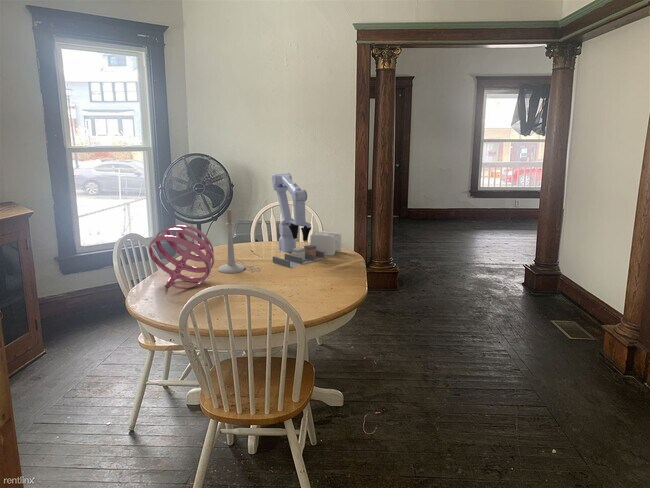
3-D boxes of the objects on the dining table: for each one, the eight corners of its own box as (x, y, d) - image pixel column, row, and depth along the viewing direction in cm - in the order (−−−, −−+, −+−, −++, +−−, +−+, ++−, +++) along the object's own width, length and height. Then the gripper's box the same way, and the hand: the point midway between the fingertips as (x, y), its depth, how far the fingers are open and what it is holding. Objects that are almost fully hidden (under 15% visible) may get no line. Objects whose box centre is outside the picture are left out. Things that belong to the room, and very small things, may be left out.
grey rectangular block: (292, 260, 257) (292, 248, 255) (299, 258, 260) (299, 247, 259) (297, 261, 254) (297, 250, 253) (304, 259, 258) (304, 248, 256)
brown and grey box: (304, 257, 262) (304, 246, 261) (310, 255, 266) (310, 244, 265) (309, 258, 260) (309, 247, 258) (316, 256, 263) (316, 245, 262)
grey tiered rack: (271, 263, 254) (271, 256, 253) (307, 255, 271) (307, 247, 270) (289, 269, 244) (289, 261, 243) (325, 259, 261) (325, 252, 261)
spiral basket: (168, 255, 193) (199, 207, 210) (121, 263, 207) (153, 217, 224) (210, 300, 209) (236, 252, 226) (164, 304, 223) (191, 258, 241)
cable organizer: (308, 254, 273) (308, 233, 270) (317, 250, 282) (317, 229, 279) (333, 257, 266) (333, 236, 263) (342, 253, 275) (342, 232, 272)
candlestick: (239, 274, 236) (236, 211, 229) (213, 272, 239) (210, 210, 232) (248, 266, 249) (246, 206, 242) (224, 265, 251) (221, 205, 244)
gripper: (284, 213, 260) (285, 238, 263) (303, 216, 250) (304, 242, 253) (294, 211, 265) (295, 236, 268) (313, 214, 255) (314, 240, 258)
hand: (300, 239), depth 261 cm, fingers open, 7 cm apart
